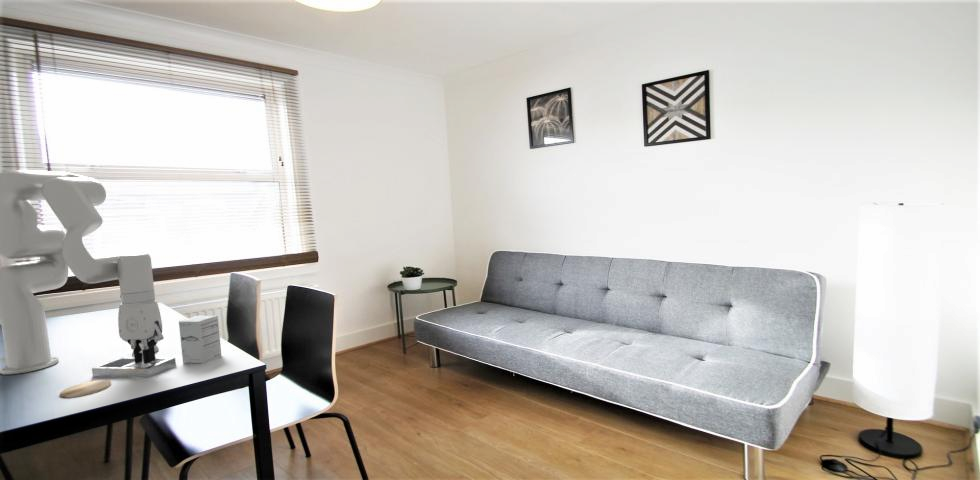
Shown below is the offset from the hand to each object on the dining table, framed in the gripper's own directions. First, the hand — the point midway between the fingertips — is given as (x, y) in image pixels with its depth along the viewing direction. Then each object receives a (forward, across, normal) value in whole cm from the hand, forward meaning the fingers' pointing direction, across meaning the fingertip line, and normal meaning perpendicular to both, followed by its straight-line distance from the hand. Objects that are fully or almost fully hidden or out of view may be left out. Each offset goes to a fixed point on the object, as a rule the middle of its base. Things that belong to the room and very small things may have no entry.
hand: (145, 361), depth 133 cm
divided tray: (+3, -4, 0) cm, 5 cm away
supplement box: (+3, +9, +10) cm, 14 cm away
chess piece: (+3, 0, 0) cm, 3 cm away
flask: (+3, -17, +16) cm, 23 cm away
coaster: (+3, -5, -13) cm, 14 cm away
